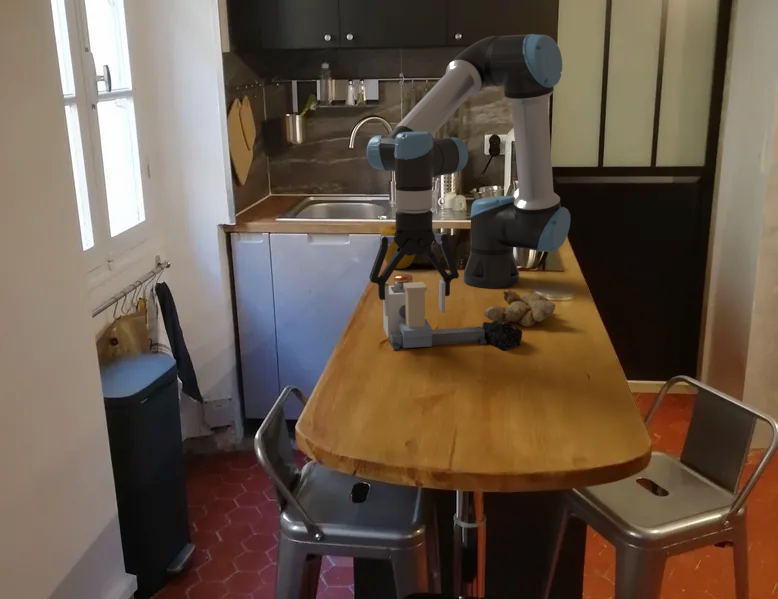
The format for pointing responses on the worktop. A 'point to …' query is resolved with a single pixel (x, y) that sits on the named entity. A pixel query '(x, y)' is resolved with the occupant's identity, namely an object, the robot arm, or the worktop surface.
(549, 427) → the worktop surface
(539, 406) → the worktop surface
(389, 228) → the apple
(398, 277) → the copper knob
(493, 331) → the rock
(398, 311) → the white square housing
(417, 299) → the carriage
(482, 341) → the rail
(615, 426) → the worktop surface
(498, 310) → the ginger root
